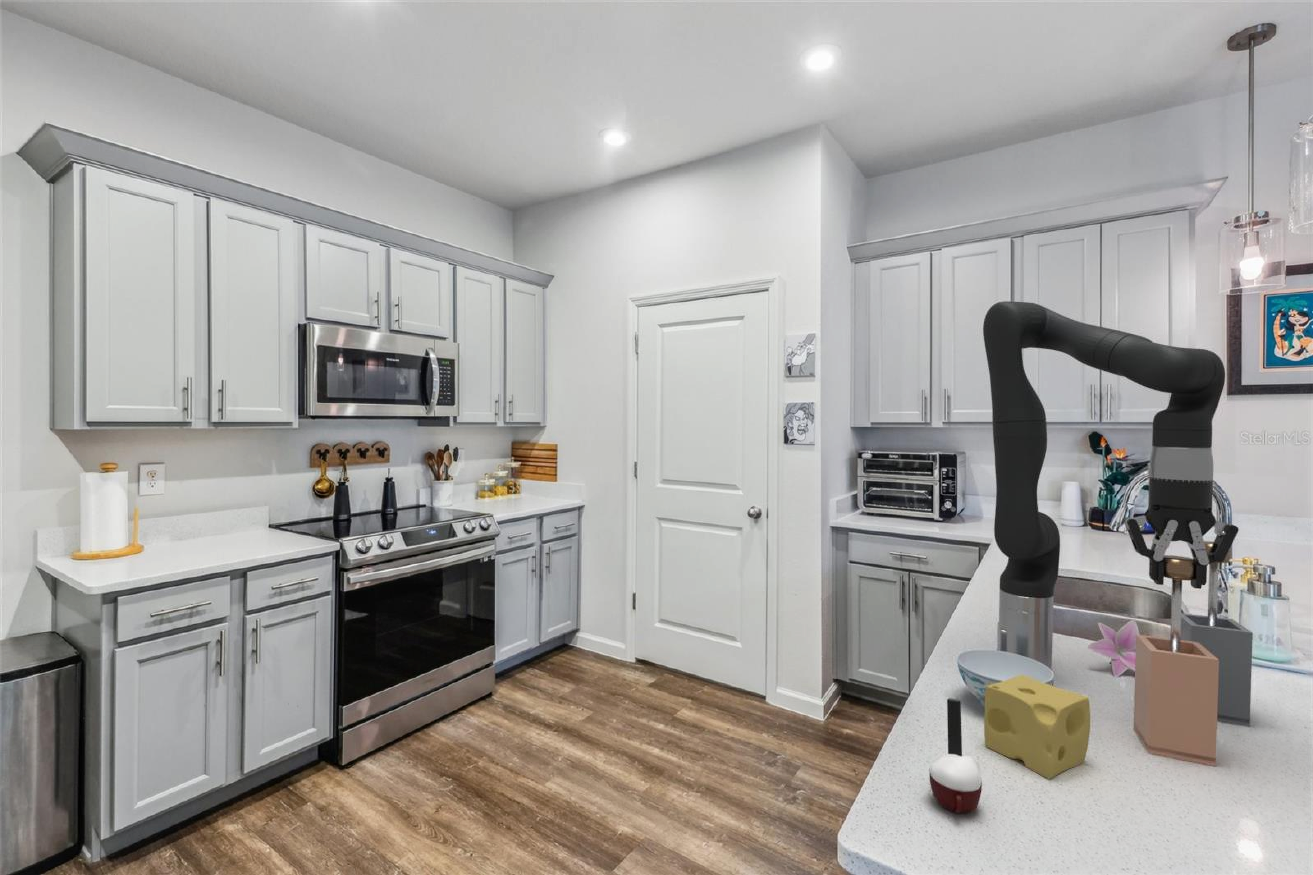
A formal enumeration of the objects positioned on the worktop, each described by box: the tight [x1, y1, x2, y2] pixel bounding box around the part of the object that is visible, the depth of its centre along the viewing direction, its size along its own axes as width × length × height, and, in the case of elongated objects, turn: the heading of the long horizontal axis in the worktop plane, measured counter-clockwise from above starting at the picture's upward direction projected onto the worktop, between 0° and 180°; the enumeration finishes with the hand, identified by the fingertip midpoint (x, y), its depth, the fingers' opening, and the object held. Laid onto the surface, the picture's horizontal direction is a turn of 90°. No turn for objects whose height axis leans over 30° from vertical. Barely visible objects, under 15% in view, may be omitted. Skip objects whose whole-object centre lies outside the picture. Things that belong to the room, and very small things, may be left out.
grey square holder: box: [1180, 612, 1253, 728], centre depth 106 cm, size 8×8×16 cm
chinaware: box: [956, 648, 1055, 709], centre depth 107 cm, size 15×15×8 cm
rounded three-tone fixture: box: [928, 697, 983, 814], centre depth 80 cm, size 10×6×12 cm, turn 136°
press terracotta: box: [1133, 634, 1219, 767], centre depth 94 cm, size 8×8×16 cm
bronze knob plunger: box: [1162, 554, 1195, 653], centre depth 94 cm, size 5×5×16 cm
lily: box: [1087, 619, 1140, 678], centre depth 124 cm, size 12×12×10 cm
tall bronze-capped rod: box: [1204, 540, 1231, 627], centre depth 106 cm, size 5×5×16 cm
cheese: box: [983, 675, 1091, 780], centre depth 92 cm, size 10×11×10 cm
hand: (1177, 585), depth 94 cm, fingers closed on bronze knob plunger, 4 cm apart
